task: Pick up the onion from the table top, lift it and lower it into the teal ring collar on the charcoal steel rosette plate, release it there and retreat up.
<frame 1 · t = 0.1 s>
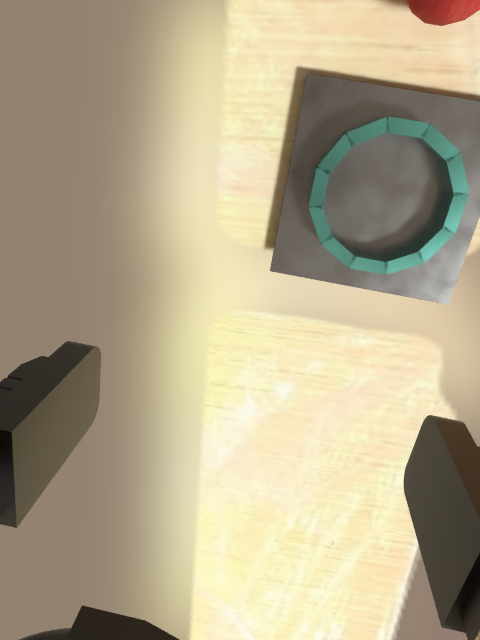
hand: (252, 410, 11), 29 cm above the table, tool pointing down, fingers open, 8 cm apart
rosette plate: (380, 195, 36), on the table
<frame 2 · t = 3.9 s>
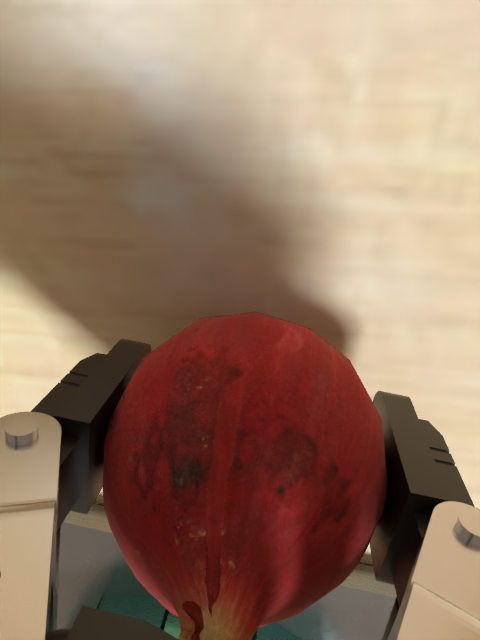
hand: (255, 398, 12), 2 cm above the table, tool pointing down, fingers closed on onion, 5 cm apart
onion: (261, 366, 13), on the table, touching gripper
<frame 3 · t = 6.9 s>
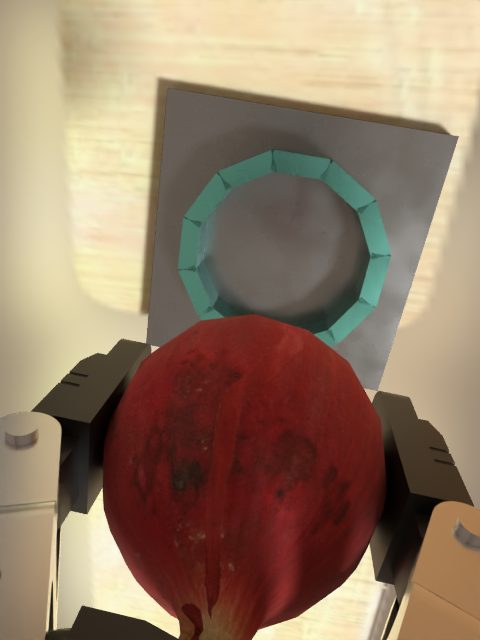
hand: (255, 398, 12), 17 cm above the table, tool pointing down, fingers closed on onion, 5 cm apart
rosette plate: (283, 249, 27), on the table
onion: (260, 367, 13), point 15 cm above the table, touching gripper
when the fingers open (5 cm above the table, at t = 9.9 s): onion drops 2 cm, resting on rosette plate.
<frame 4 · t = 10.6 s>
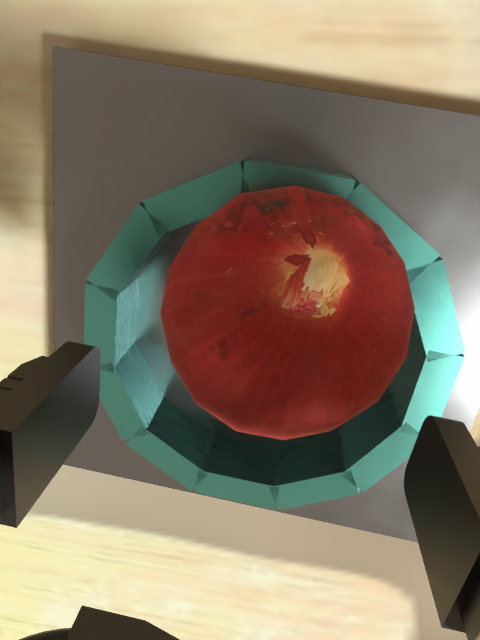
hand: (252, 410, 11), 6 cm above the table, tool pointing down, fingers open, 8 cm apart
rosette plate: (268, 323, 16), on the table
onion: (268, 334, 15), point 2 cm above the table, touching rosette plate
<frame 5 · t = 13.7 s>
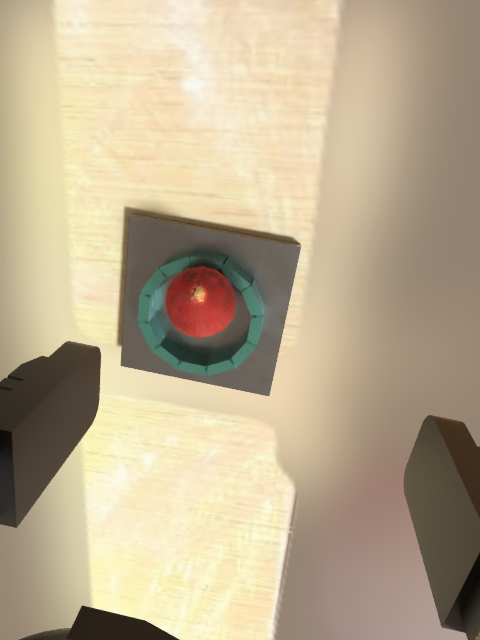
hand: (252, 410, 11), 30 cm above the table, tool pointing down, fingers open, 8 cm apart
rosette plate: (205, 307, 43), on the table
onion: (203, 311, 42), point 2 cm above the table, touching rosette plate
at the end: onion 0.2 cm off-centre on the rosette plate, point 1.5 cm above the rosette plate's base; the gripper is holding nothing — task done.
